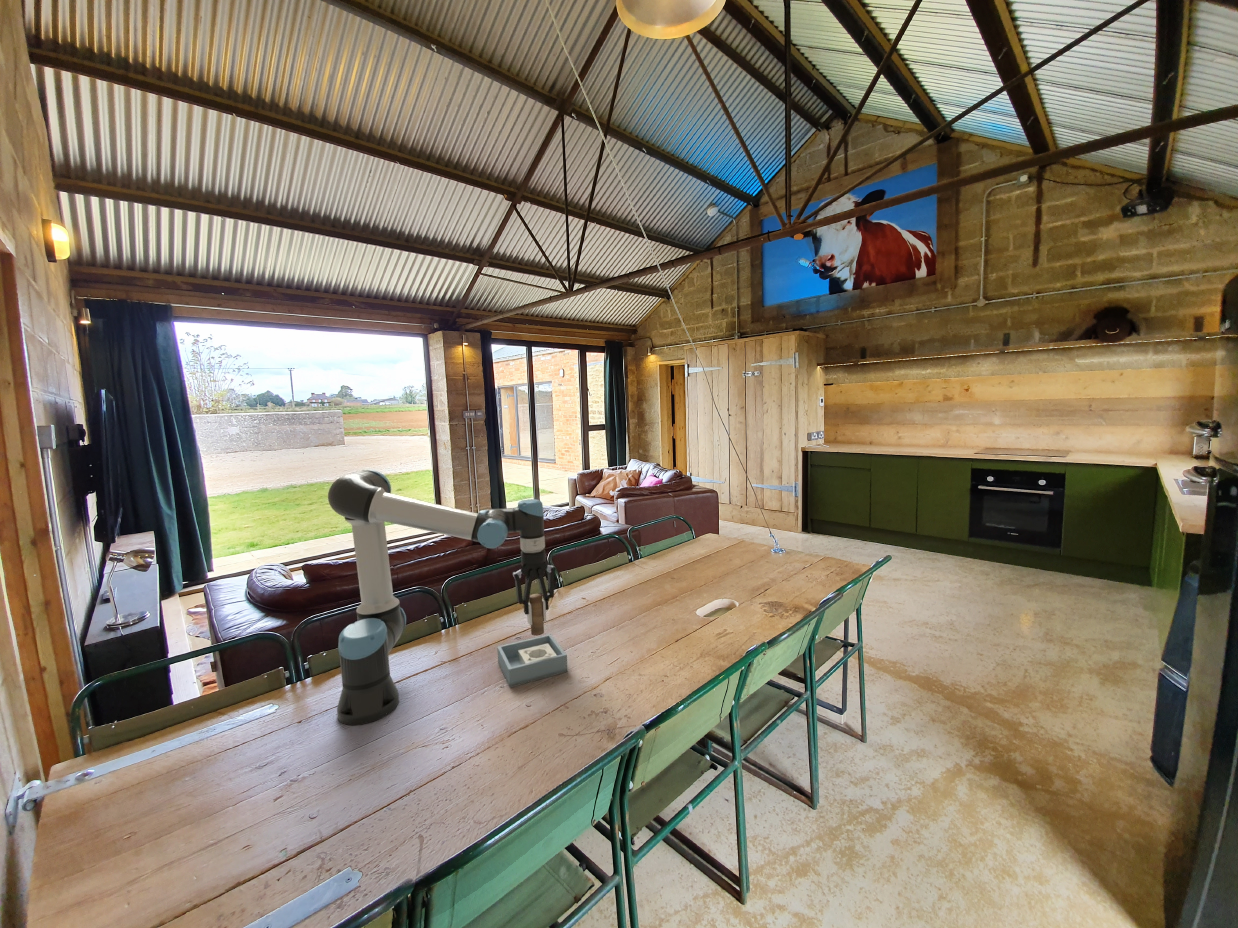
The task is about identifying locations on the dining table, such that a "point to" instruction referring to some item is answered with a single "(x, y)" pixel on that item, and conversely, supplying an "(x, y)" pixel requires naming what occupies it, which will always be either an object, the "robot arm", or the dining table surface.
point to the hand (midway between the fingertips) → (536, 621)
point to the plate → (535, 653)
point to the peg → (536, 614)
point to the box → (532, 670)
